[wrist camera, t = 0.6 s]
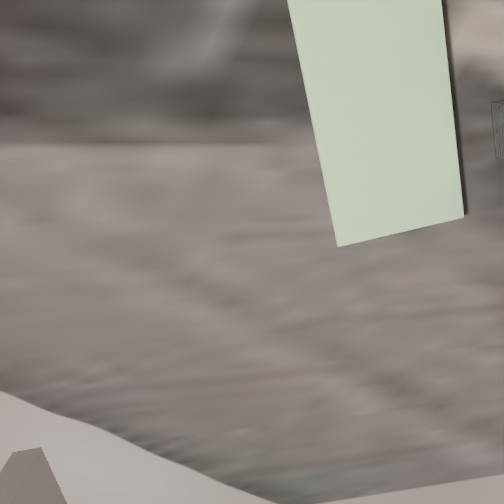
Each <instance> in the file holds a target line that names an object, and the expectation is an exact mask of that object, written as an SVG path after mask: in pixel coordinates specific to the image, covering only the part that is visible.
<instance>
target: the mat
mask: <svg viewBox="0 0 504 504" xmlns="http://www.w3.org/2000/svg"><path fill="white" fill-rule="evenodd" d="M287 2H288V7H289V12H290V17H291V22H292V26H293V31H294V36H295V41H296V46H297V51H298V56H299V61H300V66H301V71H302V75H303V80H304V85H305V90H306V95H307V100H308V105H309V110H310V115H311V120H312V125H313V129H314V134H315V139H316V144H317V149H318V154H319V159H320V164H321V169H322V174H323V178H324V183H325V188H326V193H327V198H328V203H329V208H330V213H331V218H332V223H333V228H334V232H335V237H336V242H337V246H338V247H340V246H345V245H349V244H353V243H357V242H362V241H366V240H370V239H374V238H379V237H383V236H387V235H392V234H396V233H400V232H404V231H409V230H413V229H417V228H421V227H426V226H430V225H434V224H438V223H443V222H447V221H451V220H455V219H460V218H464V210H463V200H462V191H461V181H460V172H459V163H458V153H457V144H456V134H455V125H454V116H453V106H452V97H451V87H450V78H449V68H448V59H447V50H446V40H445V31H444V21H443V12H442V2H441V0H287Z"/></svg>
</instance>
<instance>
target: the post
mask: <svg viewBox="0 0 504 504" xmlns="http://www.w3.org/2000/svg"><path fill="white" fill-rule="evenodd" d="M491 106H492V118H493V131H494V143H495V156H496V157H498V158H501V159H504V100H502V101H498V102H494V103H491Z"/></svg>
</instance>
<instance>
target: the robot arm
mask: <svg viewBox="0 0 504 504" xmlns="http://www.w3.org/2000/svg"><path fill="white" fill-rule="evenodd" d="M0 504H67V503H66V501H65V498H64V496H63V494H62V492H61V490H60V488H59V485H58V483H57V481H56V479H55V477H54V474H53V473H52V470H51V468H50V466H49V464H48V461H47V459H46V457H45V455H44V453H43V451H42V449H41V447H40V448H35V449H29V450H24V451H18V452H13V453H12V455H11V456H10V458H9V459H8V461H7V462H6V464H5V465H4V467H3V468H2V470H1V472H0Z"/></svg>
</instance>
